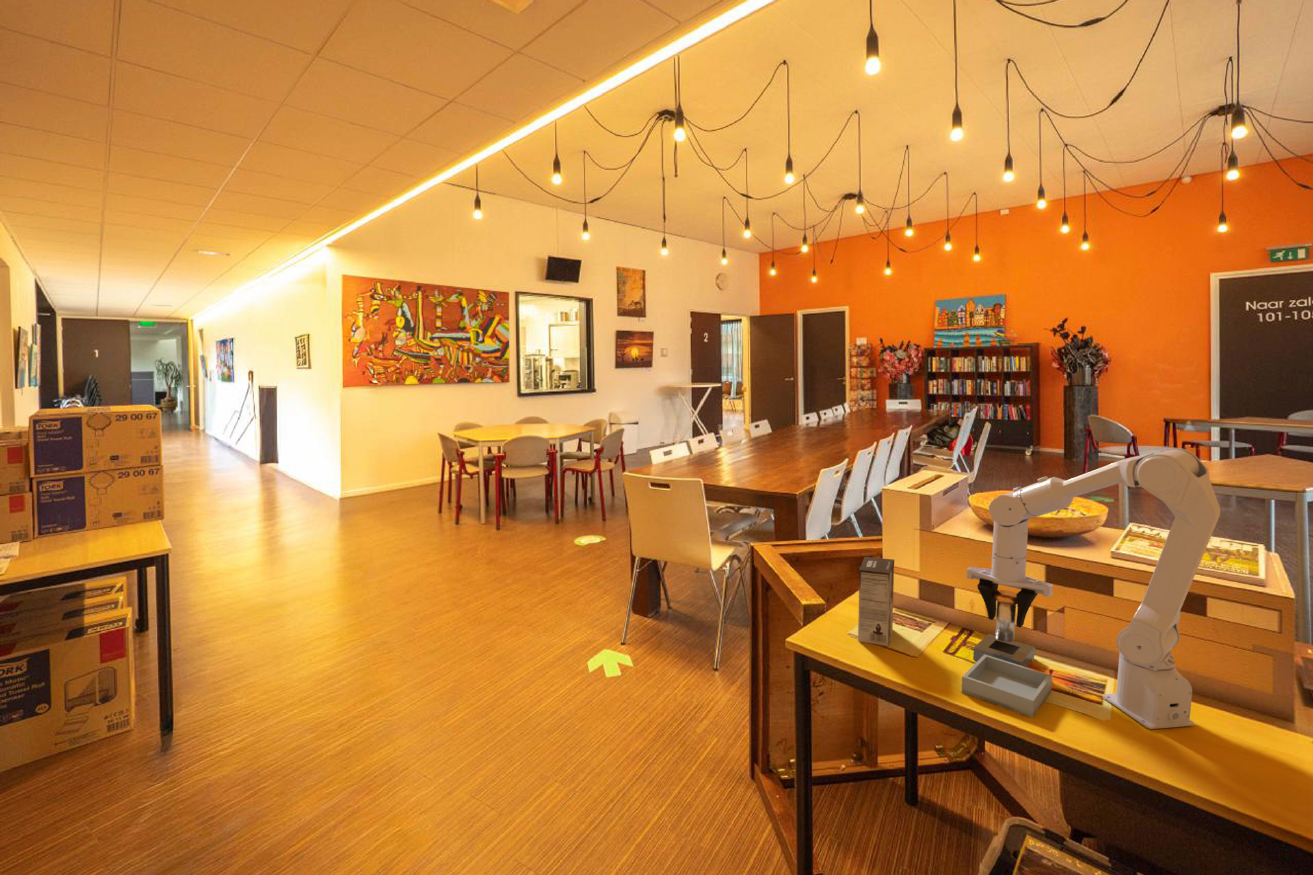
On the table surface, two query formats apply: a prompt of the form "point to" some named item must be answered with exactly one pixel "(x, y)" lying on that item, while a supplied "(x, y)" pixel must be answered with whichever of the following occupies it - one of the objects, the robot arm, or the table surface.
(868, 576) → the coffee box
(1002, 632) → the pin
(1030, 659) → the grey square socket block
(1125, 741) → the table surface
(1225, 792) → the table surface
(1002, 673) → the tray
